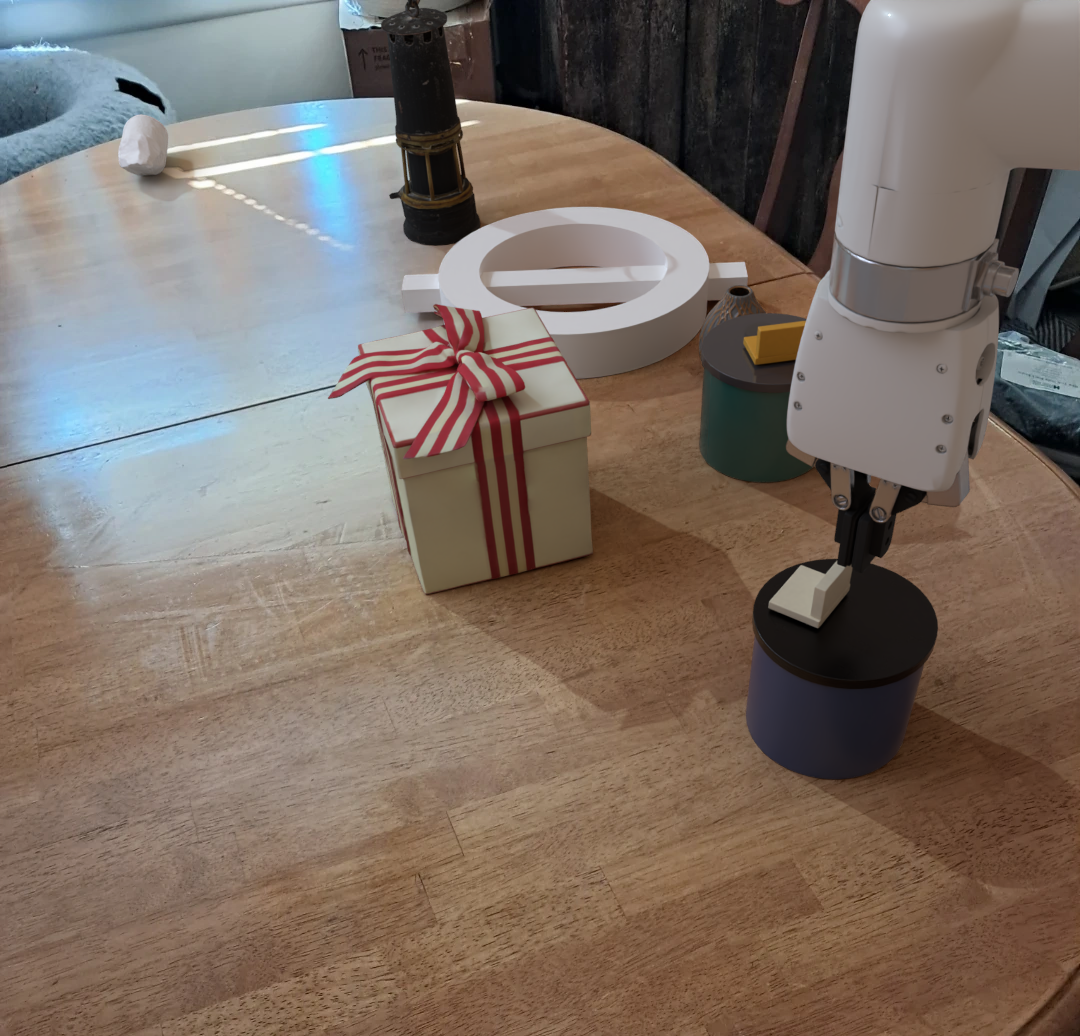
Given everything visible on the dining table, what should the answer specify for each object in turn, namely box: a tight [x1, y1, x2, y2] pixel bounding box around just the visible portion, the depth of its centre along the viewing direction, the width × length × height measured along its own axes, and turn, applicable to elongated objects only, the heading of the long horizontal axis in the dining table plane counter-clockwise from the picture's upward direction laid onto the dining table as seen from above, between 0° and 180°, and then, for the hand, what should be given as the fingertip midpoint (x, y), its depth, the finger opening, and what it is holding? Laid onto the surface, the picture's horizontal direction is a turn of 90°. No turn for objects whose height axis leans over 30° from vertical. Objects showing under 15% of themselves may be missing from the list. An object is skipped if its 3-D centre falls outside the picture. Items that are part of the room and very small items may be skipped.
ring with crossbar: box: [401, 206, 749, 380], centre depth 121 cm, size 28×28×5 cm
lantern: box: [380, 0, 481, 246], centre depth 127 cm, size 9×9×30 cm
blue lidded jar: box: [745, 558, 939, 780], centre depth 77 cm, size 12×12×10 cm
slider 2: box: [768, 561, 853, 628], centre depth 74 cm, size 4×4×3 cm
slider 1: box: [743, 321, 806, 365], centre depth 95 cm, size 4×4×3 cm
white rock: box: [117, 114, 169, 176], centre depth 151 cm, size 6×12×6 cm, turn 10°
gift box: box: [327, 304, 594, 595], centre depth 91 cm, size 17×18×17 cm
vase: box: [698, 285, 767, 369], centre depth 109 cm, size 7×7×9 cm
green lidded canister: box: [698, 312, 815, 483], centre depth 100 cm, size 12×12×10 cm
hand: (860, 556), depth 71 cm, fingers closed
